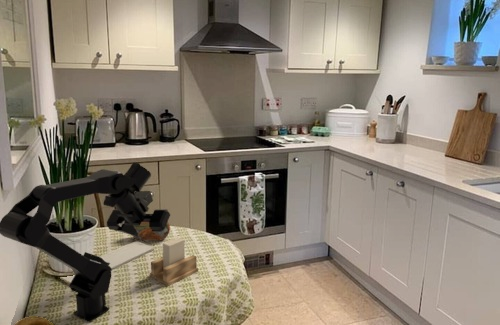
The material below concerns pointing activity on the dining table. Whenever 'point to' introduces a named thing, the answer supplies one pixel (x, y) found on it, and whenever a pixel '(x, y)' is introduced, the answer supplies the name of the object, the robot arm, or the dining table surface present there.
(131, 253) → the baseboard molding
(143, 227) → the tin
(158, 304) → the dining table surface
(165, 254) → the off-white rectangular block
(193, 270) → the wooden slotted stand
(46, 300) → the dining table surface
